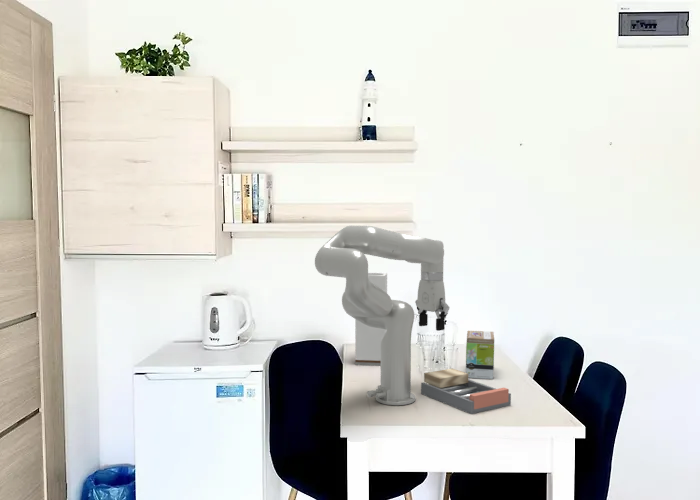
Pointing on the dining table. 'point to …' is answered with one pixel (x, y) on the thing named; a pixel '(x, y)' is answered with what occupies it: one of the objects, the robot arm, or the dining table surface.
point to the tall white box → (370, 332)
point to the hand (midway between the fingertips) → (431, 327)
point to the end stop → (490, 397)
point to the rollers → (462, 390)
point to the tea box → (480, 354)
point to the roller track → (458, 400)
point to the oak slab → (446, 378)
